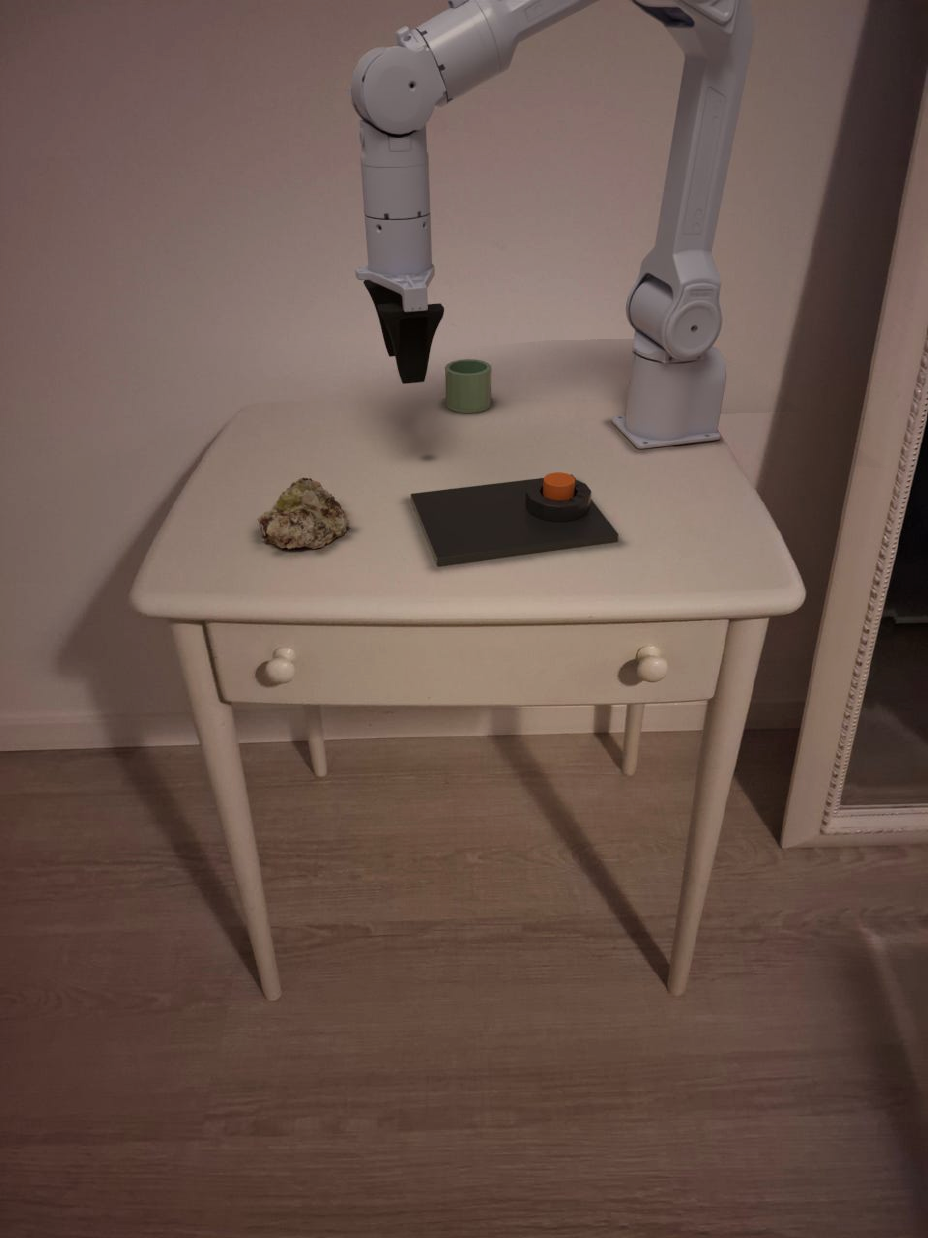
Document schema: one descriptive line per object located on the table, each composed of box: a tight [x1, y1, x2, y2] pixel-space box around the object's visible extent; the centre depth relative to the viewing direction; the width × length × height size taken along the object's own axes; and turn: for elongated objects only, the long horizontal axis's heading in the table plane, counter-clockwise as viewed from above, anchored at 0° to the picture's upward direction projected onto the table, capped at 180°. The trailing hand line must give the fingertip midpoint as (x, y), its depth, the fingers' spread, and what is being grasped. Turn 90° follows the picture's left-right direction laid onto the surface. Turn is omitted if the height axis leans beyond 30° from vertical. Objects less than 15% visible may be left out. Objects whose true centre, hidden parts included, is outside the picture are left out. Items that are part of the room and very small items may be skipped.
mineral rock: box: [256, 477, 350, 550], centre depth 78 cm, size 11×4×8 cm
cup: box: [444, 358, 492, 414], centre depth 100 cm, size 5×5×4 cm
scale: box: [410, 473, 619, 568], centre depth 78 cm, size 16×12×2 cm
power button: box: [543, 471, 576, 500], centre depth 78 cm, size 3×3×2 cm
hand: (405, 367), depth 83 cm, fingers open, 7 cm apart
